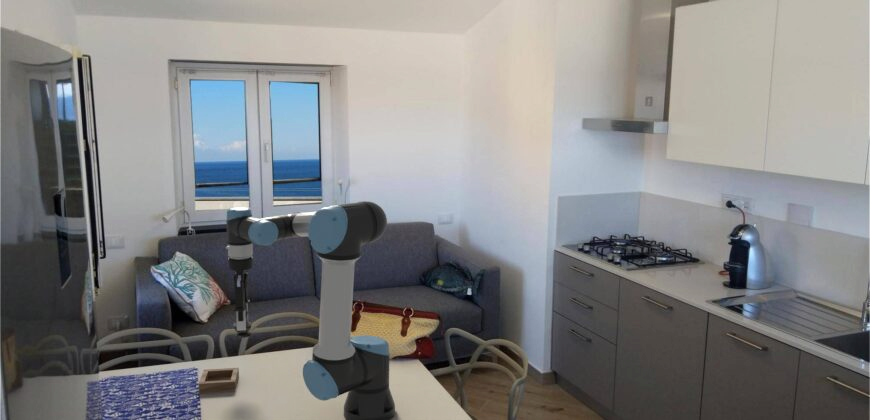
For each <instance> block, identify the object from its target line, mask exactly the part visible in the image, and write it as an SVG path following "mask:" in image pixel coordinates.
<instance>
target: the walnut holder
mask: <svg viewBox="0 0 870 420" xmlns="http://www.w3.org/2000/svg"><path fill="white" fill-rule="evenodd" d="M239 369H240V368H239V367H227V368H226V367H225V368H212V369H211V368H210V369H203V370H202V371H203V372H202V374H201V377H200V380H199V382H198V395H200V394H217V393H227V392H228V393H231V392H232V393H233V392H236V390H237V386H238V382H239V378H240V371H239Z"/></svg>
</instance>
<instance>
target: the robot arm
mask: <svg viewBox="0 0 870 420" xmlns="http://www.w3.org/2000/svg"><path fill="white" fill-rule="evenodd" d="M225 222H226V241H227V246H225V249H226V250H227V256H228V258H227V265H228V266H227V268H228V269H229V270H230V271H234V272H235V273H234V275H233V284H234V301H235V302H234V304H235V306H234V309H233V312H235V315H236V317H235V318H236V322H237V331H240V330H246V314H245V302H246V304H247V312H248V314H247V319H248V320H249V309H248V308H249V307H248V305H249V304H248V303H251V300H250V299H249V294H248V293H249V290H248V282H249V281H248V278H249V273H248V271H250V270H251V269H252V268H253V267H254V257H253V254H254V245H253V244H256V245H258V246H270V245H272V244H273V243H275V242H277V241H280V240H285V239H290V238H291V239H292V238H303V237H308V240H309V241H310V246H311V247H312V248H313V250H314V251H316V256H317V257H318V258H319V259H320V260H321V284H320V302H319V303H320V304H319V305H320V307H319V322H318V323H319V327H318V343H316V344H315V345H313V347H312V353H311V354H312V356H311V357H312V358H311V359H310V360H309V359H308V360H307V361H306V362H305V364H303V366H302V378H303V381H304V384H305V387H306V388H307V390H308V391H309V392H310V394H311V395H312V396H313V397H314V398H316V399H318V400H319V401H329V400H331V399H336V398H337V397H339V396H341V395H344V394H345V393H347V396H346V399H345V402H344V405H343V417H344V418H345V419H346V420H391V419H393V418H394V416H395V413H396V404H395V401H394V397H393V395H392V392H391V388H390V355H391V353H390V345H389V343H388V341H387V340H386V339H384V338H382V337H379V336H377V335H376V336H375V335H366V334H365V335H364V334H361V335H355V336H352V337H351V334H352V332H351V331H352V315H353V301H354V300H353V298H354V297H353V296H354V281H355V279H354V278H355V265H356V264H355V263H356V262H357V261H358V260H359V259H360V258H361V257H362V246H365V245H368V244H372V243H374V242H376V241H378V240H379V239H381V238H382V236H383V235H384V233H385V232H386V230H387V226H388V218H387V215H386V212H385V211H384V209H383V208H382V207H381V206H380V205H378V204H377V203H375V202H372V201H365V200H364V201H357V202H349V203H344V204H333V205H329V206H326V207H325V206H324V207H321V208H320V209H317V211H307V212H305V211H301V212H293V213H287V214H282V215H281V214H280V215H273V216H267V217H254V216H253V213H252V210H251V208H250V207H246V206H238V207H230V208H228V209H227V210H226V221H225ZM237 331H236V332H237Z"/></svg>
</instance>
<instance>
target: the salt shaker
mask: <svg viewBox="0 0 870 420" xmlns="http://www.w3.org/2000/svg"><path fill="white" fill-rule="evenodd" d="M245 314H246V330H240V331H237V321H236V322H234V323H233V324H232V327H233V328H234V331H235V332H236V333H235V334H234V337H235V338H238V339H244V338H245V339H246V338H248V337H251V336H252V333H251V332H250V331H251V330H252V329H251V328H252V326H253V322H251V321H249V318H248V319H247V314H248V315H249V311H248V312H247V304H246V302H245Z"/></svg>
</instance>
